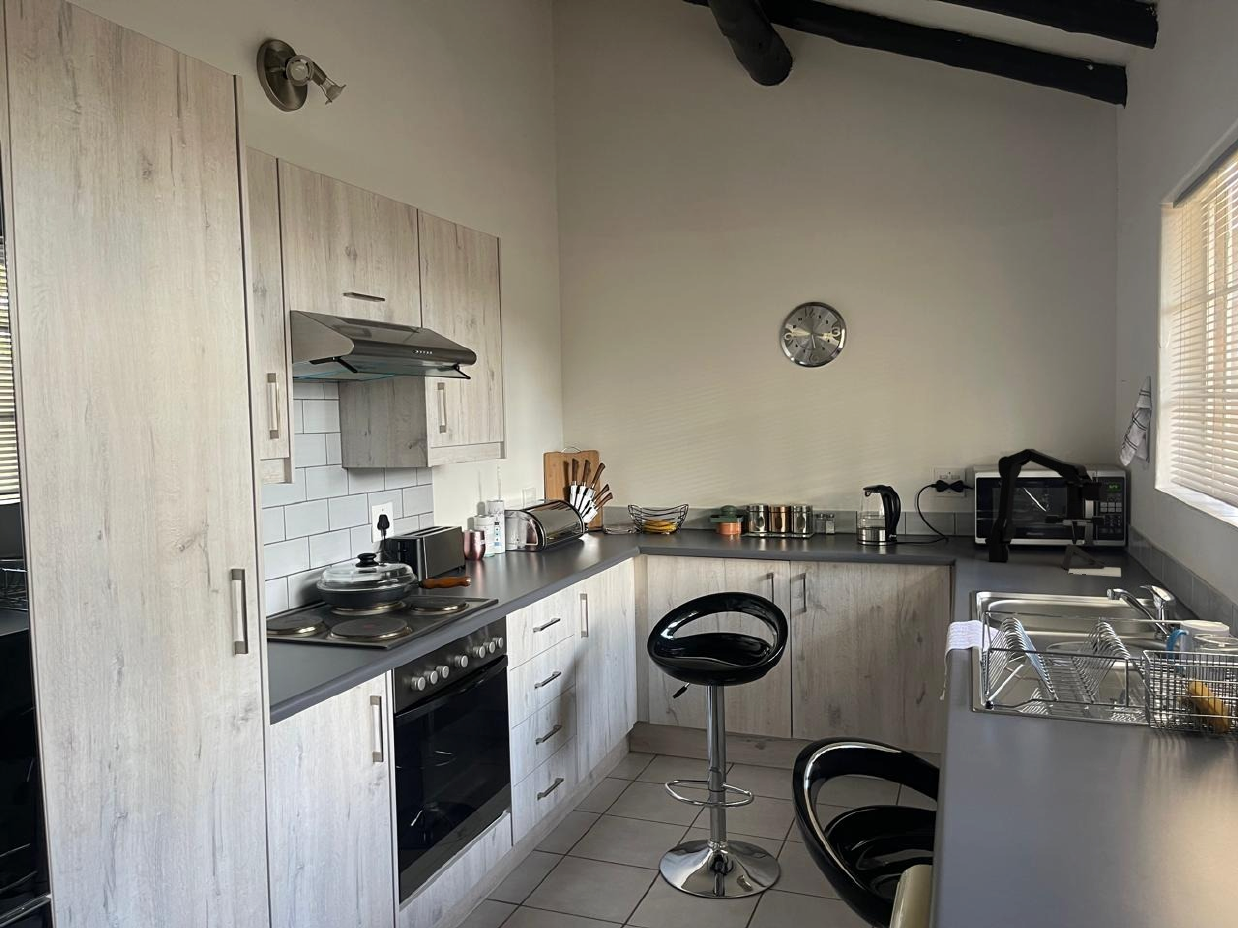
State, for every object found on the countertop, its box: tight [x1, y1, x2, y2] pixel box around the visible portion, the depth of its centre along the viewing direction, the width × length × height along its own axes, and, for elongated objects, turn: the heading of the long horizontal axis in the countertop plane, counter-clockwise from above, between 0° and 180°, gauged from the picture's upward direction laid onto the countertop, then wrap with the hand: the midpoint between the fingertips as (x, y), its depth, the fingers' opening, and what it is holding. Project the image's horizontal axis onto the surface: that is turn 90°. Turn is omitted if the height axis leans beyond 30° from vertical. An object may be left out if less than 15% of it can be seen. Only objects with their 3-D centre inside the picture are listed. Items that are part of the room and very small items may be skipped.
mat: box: [1068, 566, 1122, 578], centre depth 340 cm, size 16×18×1 cm
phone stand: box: [1061, 543, 1106, 571], centre depth 346 cm, size 9×6×12 cm
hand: (1074, 544), depth 343 cm, fingers closed
